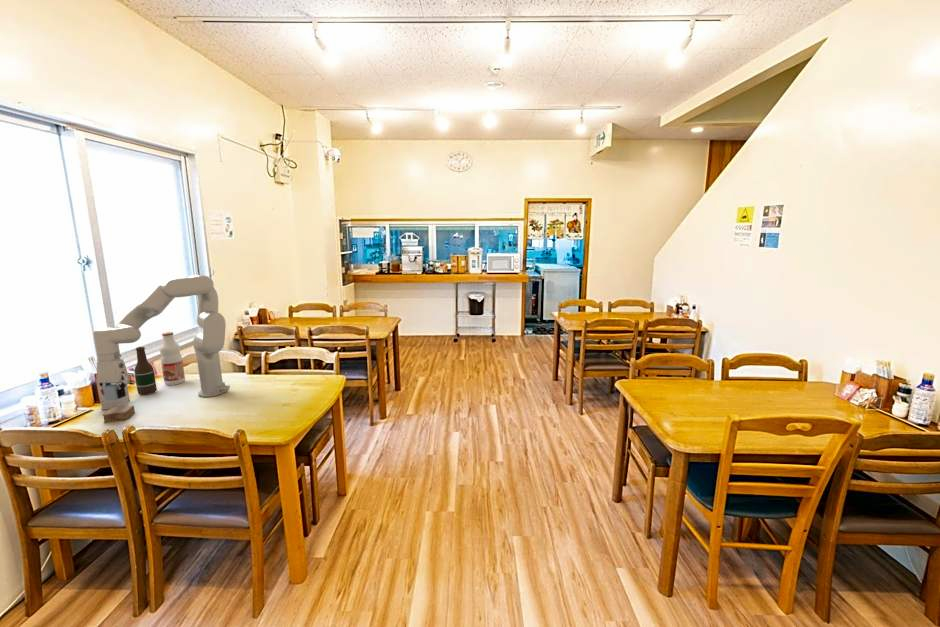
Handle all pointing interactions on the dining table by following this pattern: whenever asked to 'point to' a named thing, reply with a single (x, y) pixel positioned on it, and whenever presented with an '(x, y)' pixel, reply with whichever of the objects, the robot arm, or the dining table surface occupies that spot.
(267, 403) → the dining table surface
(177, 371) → the fruit juice
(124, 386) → the robot arm
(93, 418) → the dining table surface
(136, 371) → the beer bottle
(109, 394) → the cube
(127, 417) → the walnut block
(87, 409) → the dining table surface
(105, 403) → the supplement box
